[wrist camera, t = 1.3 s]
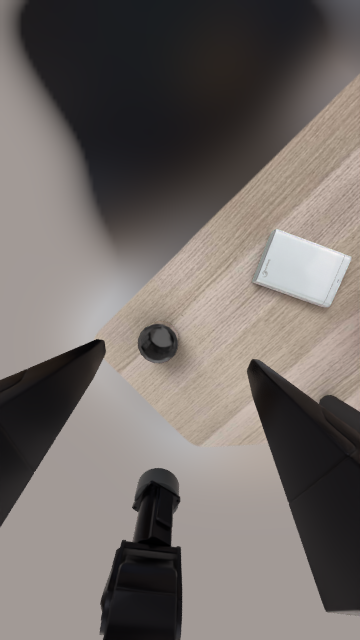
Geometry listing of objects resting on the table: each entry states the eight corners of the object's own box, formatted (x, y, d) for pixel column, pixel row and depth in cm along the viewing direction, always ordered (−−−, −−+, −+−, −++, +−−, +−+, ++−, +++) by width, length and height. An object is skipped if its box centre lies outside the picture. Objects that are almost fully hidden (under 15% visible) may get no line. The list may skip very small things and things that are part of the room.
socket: (160, 360, 26) (157, 371, 23) (137, 336, 26) (129, 342, 22) (185, 338, 26) (186, 345, 22) (162, 313, 26) (158, 315, 22)
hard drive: (255, 281, 23) (330, 307, 24) (276, 227, 23) (354, 255, 23) (251, 282, 25) (321, 307, 25) (270, 232, 24) (342, 258, 24)
